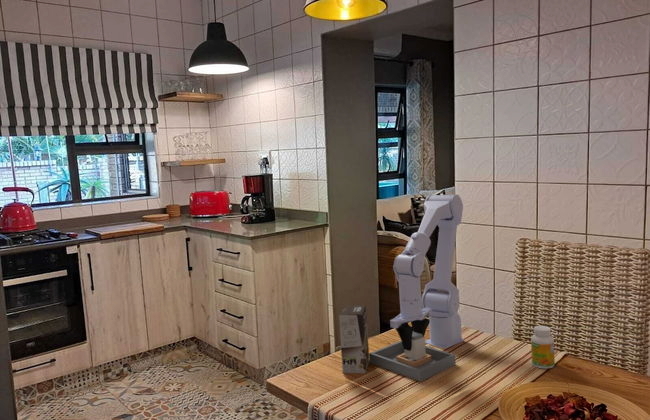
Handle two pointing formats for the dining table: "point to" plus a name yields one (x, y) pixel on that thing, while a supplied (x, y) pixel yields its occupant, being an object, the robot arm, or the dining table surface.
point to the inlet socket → (402, 359)
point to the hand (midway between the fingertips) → (413, 347)
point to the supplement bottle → (542, 347)
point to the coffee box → (354, 339)
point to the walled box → (388, 360)
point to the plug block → (416, 347)
